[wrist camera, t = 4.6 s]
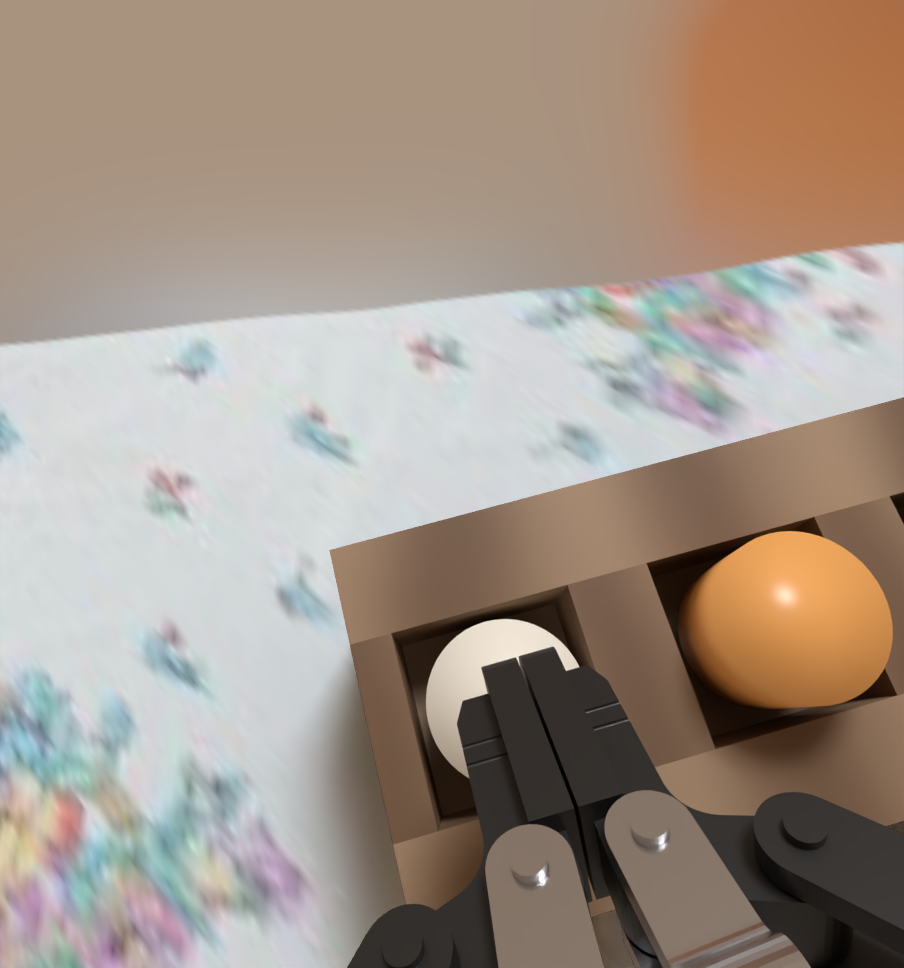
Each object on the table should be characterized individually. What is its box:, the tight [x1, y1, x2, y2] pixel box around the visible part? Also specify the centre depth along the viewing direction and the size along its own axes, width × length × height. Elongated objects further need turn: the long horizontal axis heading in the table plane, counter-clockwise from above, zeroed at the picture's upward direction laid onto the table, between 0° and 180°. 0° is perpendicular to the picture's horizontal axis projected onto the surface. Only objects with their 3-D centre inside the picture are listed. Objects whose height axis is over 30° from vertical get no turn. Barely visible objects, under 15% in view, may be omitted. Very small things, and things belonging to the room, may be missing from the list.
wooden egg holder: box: [330, 398, 904, 917], centre depth 22 cm, size 21×10×9 cm, turn 105°
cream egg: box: [426, 619, 579, 778], centre depth 18 cm, size 4×4×3 cm
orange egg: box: [678, 531, 893, 710], centre depth 17 cm, size 4×4×3 cm
